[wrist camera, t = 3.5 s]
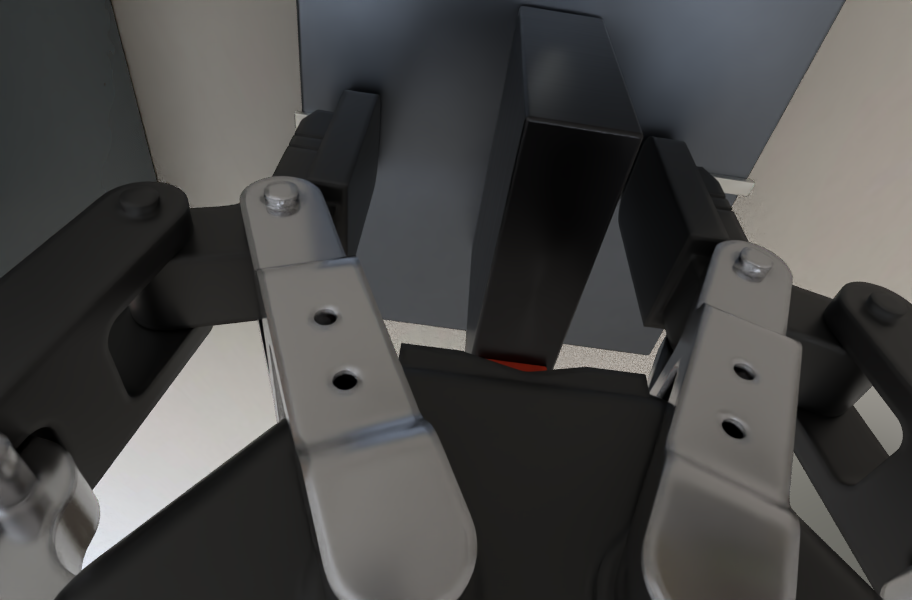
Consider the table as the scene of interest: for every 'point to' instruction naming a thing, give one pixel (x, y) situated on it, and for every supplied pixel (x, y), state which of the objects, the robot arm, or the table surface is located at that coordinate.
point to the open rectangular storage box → (62, 118)
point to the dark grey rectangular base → (476, 113)
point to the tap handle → (548, 187)
